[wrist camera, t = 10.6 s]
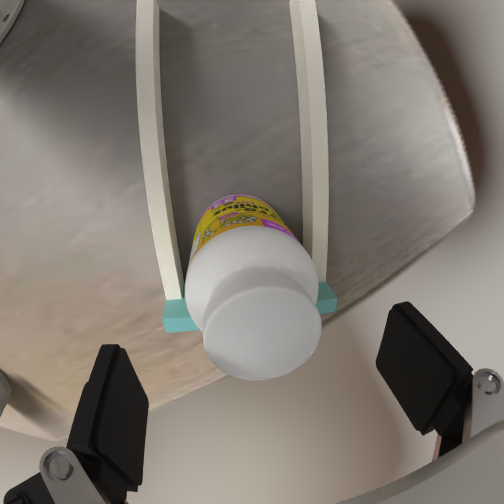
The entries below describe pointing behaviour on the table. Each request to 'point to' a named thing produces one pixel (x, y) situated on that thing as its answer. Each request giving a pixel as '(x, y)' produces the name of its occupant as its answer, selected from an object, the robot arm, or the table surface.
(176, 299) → the guide track
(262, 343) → the supplement bottle
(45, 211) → the table surface
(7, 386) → the coffee mug
